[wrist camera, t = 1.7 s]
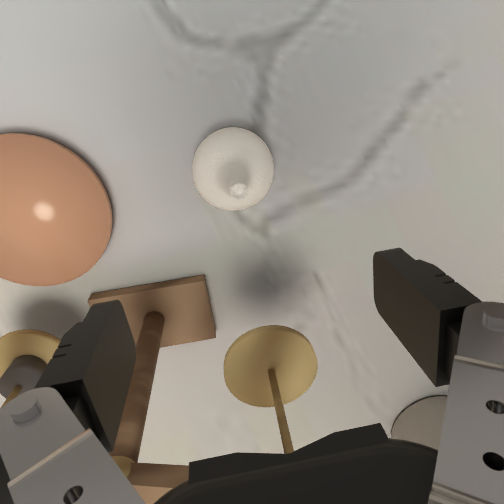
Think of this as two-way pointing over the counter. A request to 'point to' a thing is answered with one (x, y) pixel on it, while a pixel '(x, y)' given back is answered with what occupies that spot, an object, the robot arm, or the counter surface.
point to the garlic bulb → (233, 169)
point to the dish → (49, 212)
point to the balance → (147, 348)
